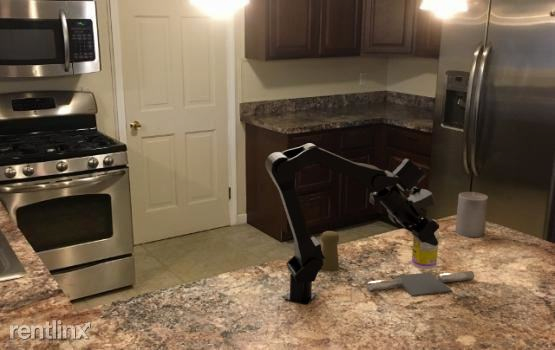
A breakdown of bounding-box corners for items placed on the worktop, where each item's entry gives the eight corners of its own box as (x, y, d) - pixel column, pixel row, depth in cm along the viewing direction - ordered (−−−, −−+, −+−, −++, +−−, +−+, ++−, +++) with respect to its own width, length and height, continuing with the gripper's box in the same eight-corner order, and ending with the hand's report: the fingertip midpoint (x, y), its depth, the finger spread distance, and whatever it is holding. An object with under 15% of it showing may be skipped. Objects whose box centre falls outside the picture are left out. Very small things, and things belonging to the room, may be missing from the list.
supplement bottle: (411, 259, 157) (415, 215, 154) (436, 262, 155) (440, 218, 152) (410, 268, 151) (414, 222, 148) (436, 271, 149) (440, 225, 146)
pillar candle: (464, 226, 204) (468, 186, 200) (489, 233, 196) (493, 192, 193) (449, 232, 198) (453, 191, 194) (474, 240, 190) (478, 197, 187)
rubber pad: (411, 296, 148) (411, 294, 148) (391, 277, 159) (391, 276, 159) (451, 291, 151) (452, 290, 151) (429, 273, 163) (429, 272, 162)
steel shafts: (369, 292, 150) (369, 284, 150) (365, 288, 152) (366, 280, 152) (473, 280, 158) (474, 272, 158) (468, 277, 161) (469, 269, 160)
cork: (340, 271, 163) (341, 236, 160) (319, 271, 163) (320, 235, 160) (338, 263, 169) (339, 229, 166) (318, 263, 169) (319, 228, 166)
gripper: (436, 190, 138) (470, 230, 143) (401, 172, 155) (433, 208, 160) (404, 222, 138) (440, 261, 143) (373, 201, 155) (406, 236, 160)
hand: (430, 240), depth 152 cm, fingers closed on supplement bottle, 7 cm apart
